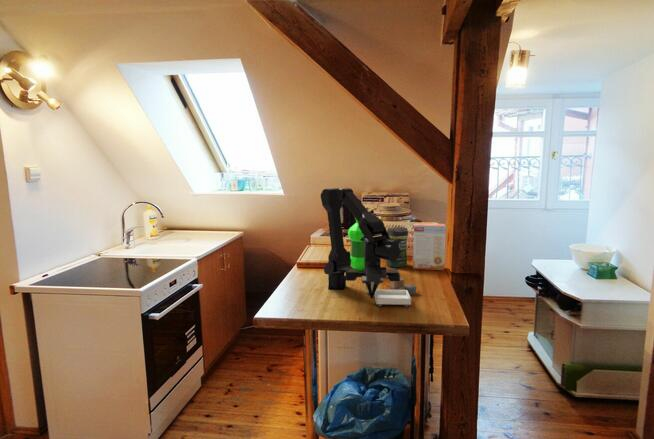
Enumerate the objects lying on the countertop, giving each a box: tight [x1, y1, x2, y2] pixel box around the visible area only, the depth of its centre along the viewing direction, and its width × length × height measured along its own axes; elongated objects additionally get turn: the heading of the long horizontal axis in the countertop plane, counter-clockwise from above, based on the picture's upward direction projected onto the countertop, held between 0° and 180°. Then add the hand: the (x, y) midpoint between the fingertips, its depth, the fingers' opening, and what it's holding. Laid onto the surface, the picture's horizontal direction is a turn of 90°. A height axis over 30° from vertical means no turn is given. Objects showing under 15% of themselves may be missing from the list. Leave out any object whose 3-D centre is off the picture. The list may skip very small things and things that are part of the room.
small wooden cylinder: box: [364, 282, 373, 296], centre depth 148 cm, size 4×4×6 cm
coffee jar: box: [385, 226, 409, 269], centre depth 184 cm, size 10×8×19 cm
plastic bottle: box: [347, 217, 364, 272], centre depth 178 cm, size 10×10×25 cm
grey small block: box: [404, 284, 417, 296], centre depth 148 cm, size 4×4×3 cm
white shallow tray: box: [373, 289, 412, 308], centre depth 138 cm, size 12×9×3 cm
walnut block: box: [389, 276, 405, 290], centre depth 148 cm, size 4×4×6 cm
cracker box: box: [412, 222, 447, 271], centre depth 179 cm, size 14×6×21 cm, turn 77°
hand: (371, 298), depth 138 cm, fingers closed
